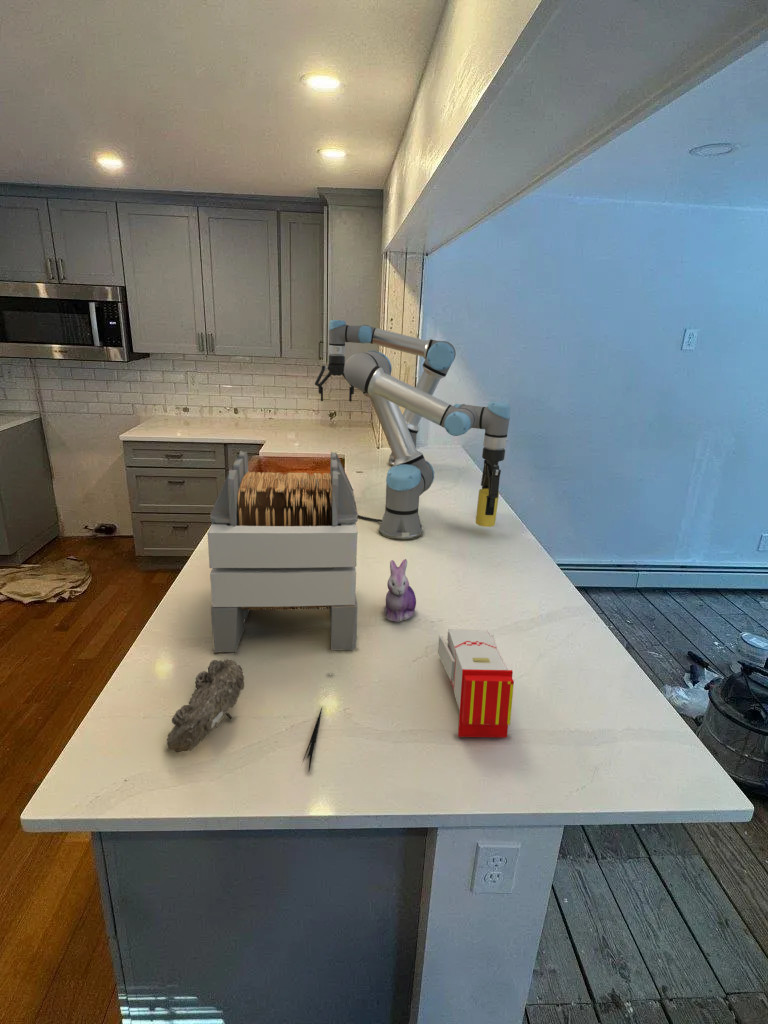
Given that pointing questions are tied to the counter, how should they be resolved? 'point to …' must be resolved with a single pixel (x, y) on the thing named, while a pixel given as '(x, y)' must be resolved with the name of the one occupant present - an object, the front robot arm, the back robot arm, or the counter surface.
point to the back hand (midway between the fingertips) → (336, 401)
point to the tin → (481, 509)
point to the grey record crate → (283, 549)
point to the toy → (478, 682)
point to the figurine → (399, 594)
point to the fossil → (206, 705)
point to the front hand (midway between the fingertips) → (486, 510)
